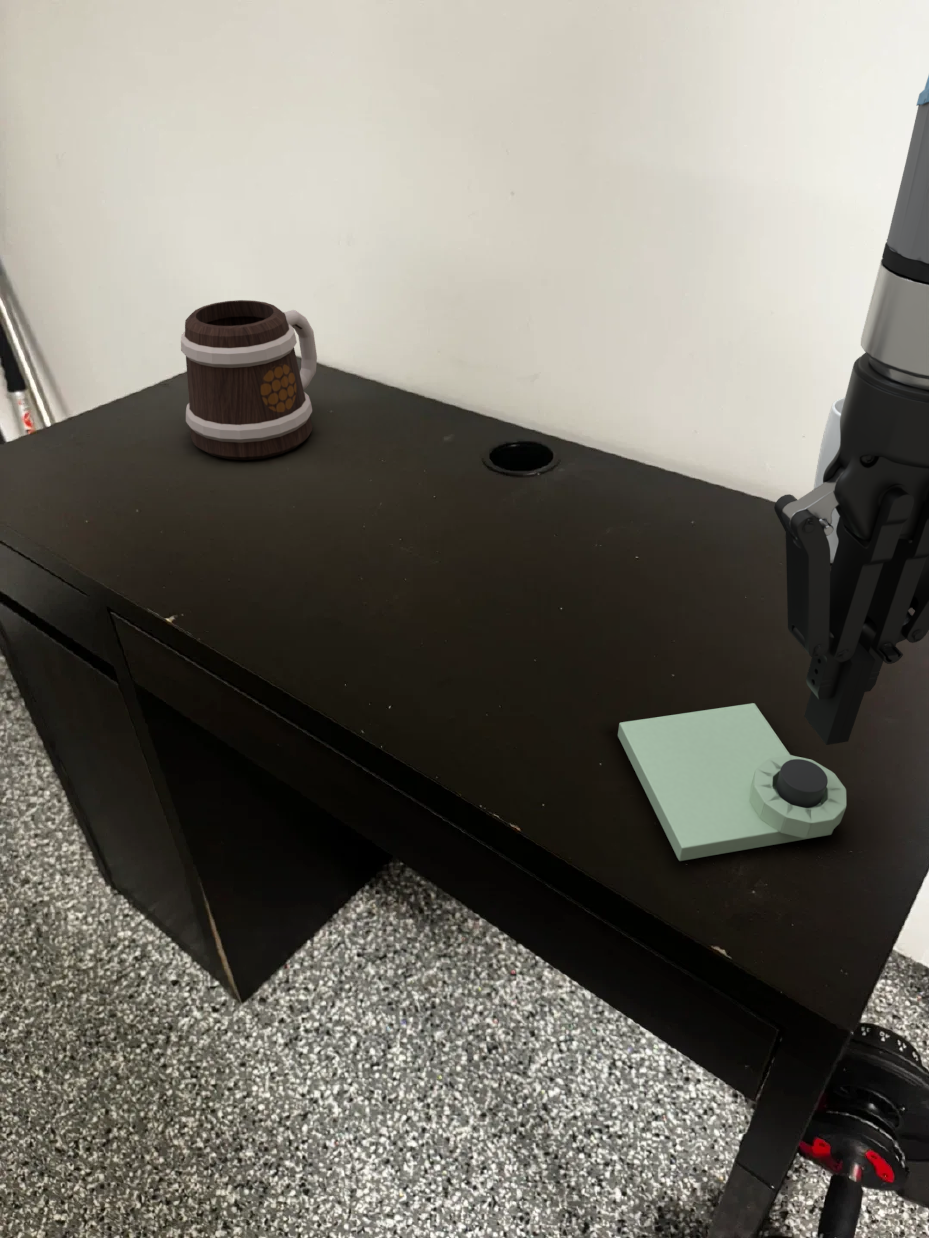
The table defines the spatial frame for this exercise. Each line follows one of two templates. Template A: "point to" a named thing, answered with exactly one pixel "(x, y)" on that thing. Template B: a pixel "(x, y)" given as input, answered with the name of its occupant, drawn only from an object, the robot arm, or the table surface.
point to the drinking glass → (826, 455)
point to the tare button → (801, 783)
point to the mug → (248, 379)
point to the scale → (723, 782)
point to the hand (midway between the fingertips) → (825, 728)
